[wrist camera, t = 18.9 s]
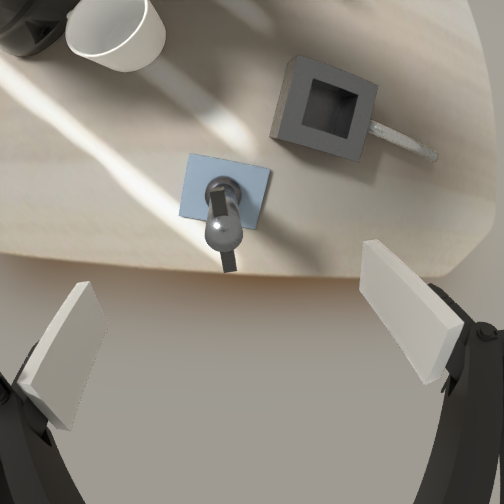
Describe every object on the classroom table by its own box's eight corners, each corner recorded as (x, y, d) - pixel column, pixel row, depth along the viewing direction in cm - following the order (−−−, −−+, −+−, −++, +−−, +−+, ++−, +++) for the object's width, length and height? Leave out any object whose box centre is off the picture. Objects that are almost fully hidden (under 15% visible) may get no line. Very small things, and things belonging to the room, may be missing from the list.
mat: (179, 214, 37) (178, 215, 36) (190, 153, 34) (189, 153, 33) (254, 227, 38) (255, 229, 38) (269, 169, 35) (270, 169, 35)
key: (201, 168, 34) (187, 196, 21) (237, 162, 34) (246, 187, 21) (210, 221, 37) (204, 277, 24) (244, 216, 37) (256, 269, 24)
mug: (106, 2, 23) (74, -27, 13) (180, 26, 26) (166, -8, 17) (73, 56, 25) (30, 41, 16) (144, 82, 29) (115, 68, 19)
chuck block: (269, 136, 34) (276, 138, 29) (287, 63, 30) (298, 54, 25) (414, 183, 38) (434, 192, 33) (430, 123, 34) (451, 126, 30)
